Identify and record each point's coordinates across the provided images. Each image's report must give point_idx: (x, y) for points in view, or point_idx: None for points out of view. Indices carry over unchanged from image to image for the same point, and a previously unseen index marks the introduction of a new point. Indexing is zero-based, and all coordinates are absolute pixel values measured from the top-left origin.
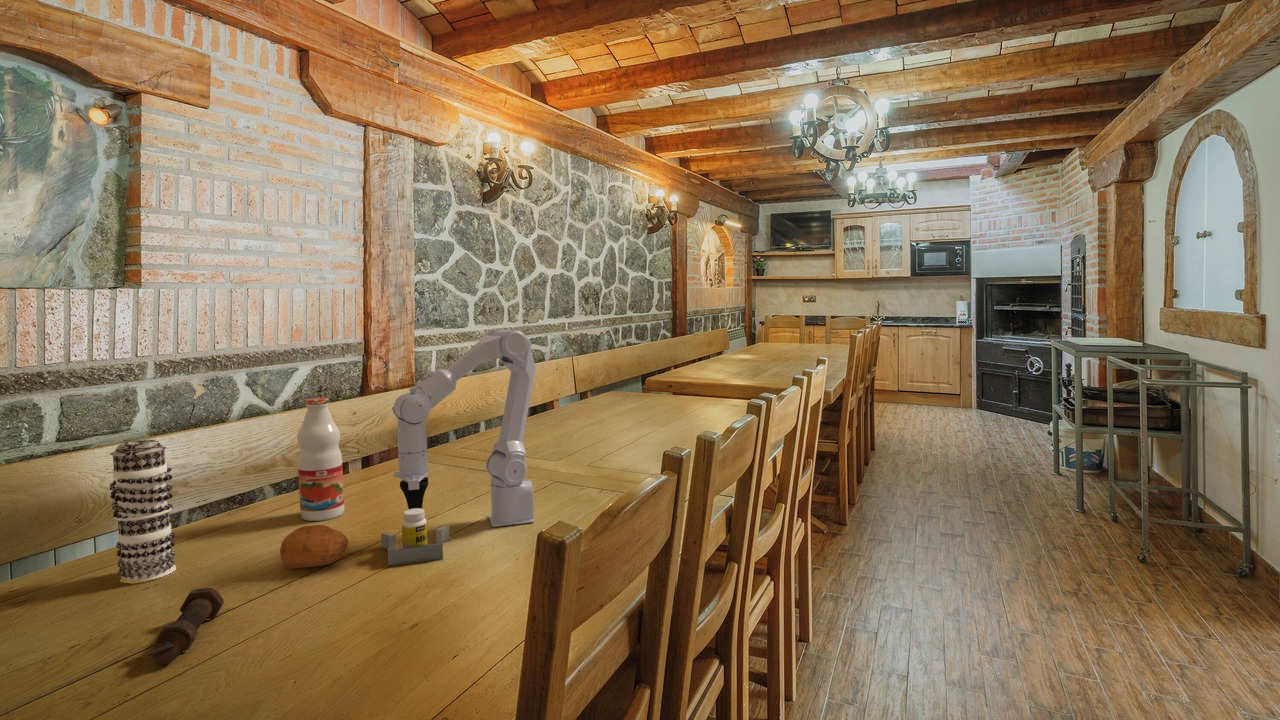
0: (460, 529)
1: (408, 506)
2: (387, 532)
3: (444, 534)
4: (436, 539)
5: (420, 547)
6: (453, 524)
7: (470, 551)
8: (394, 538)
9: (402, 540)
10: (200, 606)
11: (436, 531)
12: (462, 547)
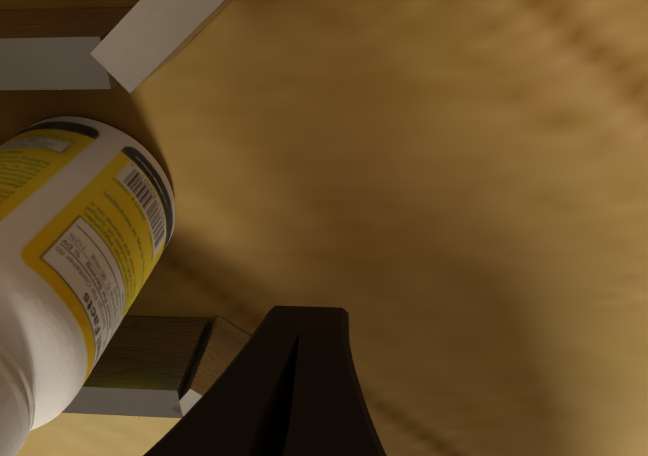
0: (453, 450)
1: (223, 374)
2: (216, 6)
3: None
4: (110, 358)
5: None
6: (582, 428)
7: (65, 451)
8: (22, 89)
9: (6, 155)
10: None
11: (154, 391)
12: (131, 428)
